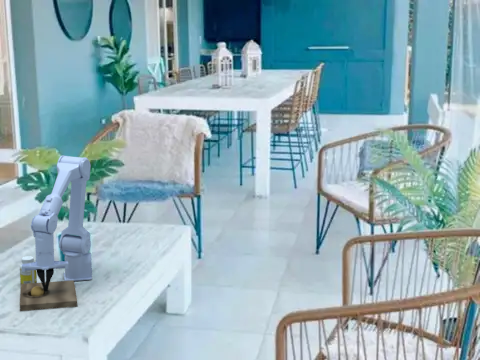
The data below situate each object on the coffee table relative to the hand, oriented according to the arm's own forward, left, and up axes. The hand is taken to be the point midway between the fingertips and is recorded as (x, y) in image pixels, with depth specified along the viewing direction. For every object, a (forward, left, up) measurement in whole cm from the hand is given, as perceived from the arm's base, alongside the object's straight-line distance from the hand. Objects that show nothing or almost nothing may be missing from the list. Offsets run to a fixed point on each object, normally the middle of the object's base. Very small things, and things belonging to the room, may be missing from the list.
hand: (45, 290), depth 216 cm
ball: (+3, -1, -1) cm, 3 cm away
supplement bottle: (+6, -13, -3) cm, 14 cm away
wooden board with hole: (-1, 0, -3) cm, 3 cm away
